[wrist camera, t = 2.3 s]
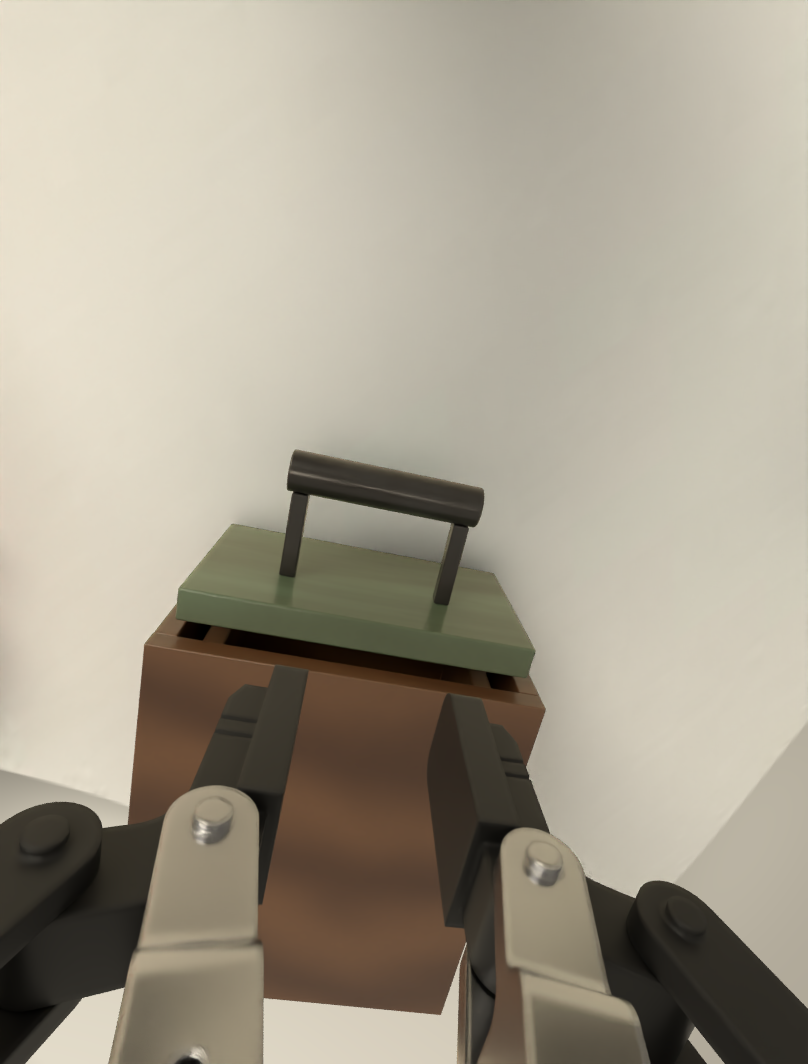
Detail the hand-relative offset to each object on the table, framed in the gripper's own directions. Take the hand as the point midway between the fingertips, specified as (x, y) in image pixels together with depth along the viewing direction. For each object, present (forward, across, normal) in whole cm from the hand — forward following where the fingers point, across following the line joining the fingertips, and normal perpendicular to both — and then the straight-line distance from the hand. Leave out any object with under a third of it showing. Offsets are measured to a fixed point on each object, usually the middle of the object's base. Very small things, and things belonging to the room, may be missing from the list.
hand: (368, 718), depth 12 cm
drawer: (+14, 0, +6) cm, 15 cm away
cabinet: (+15, 0, +11) cm, 19 cm away
